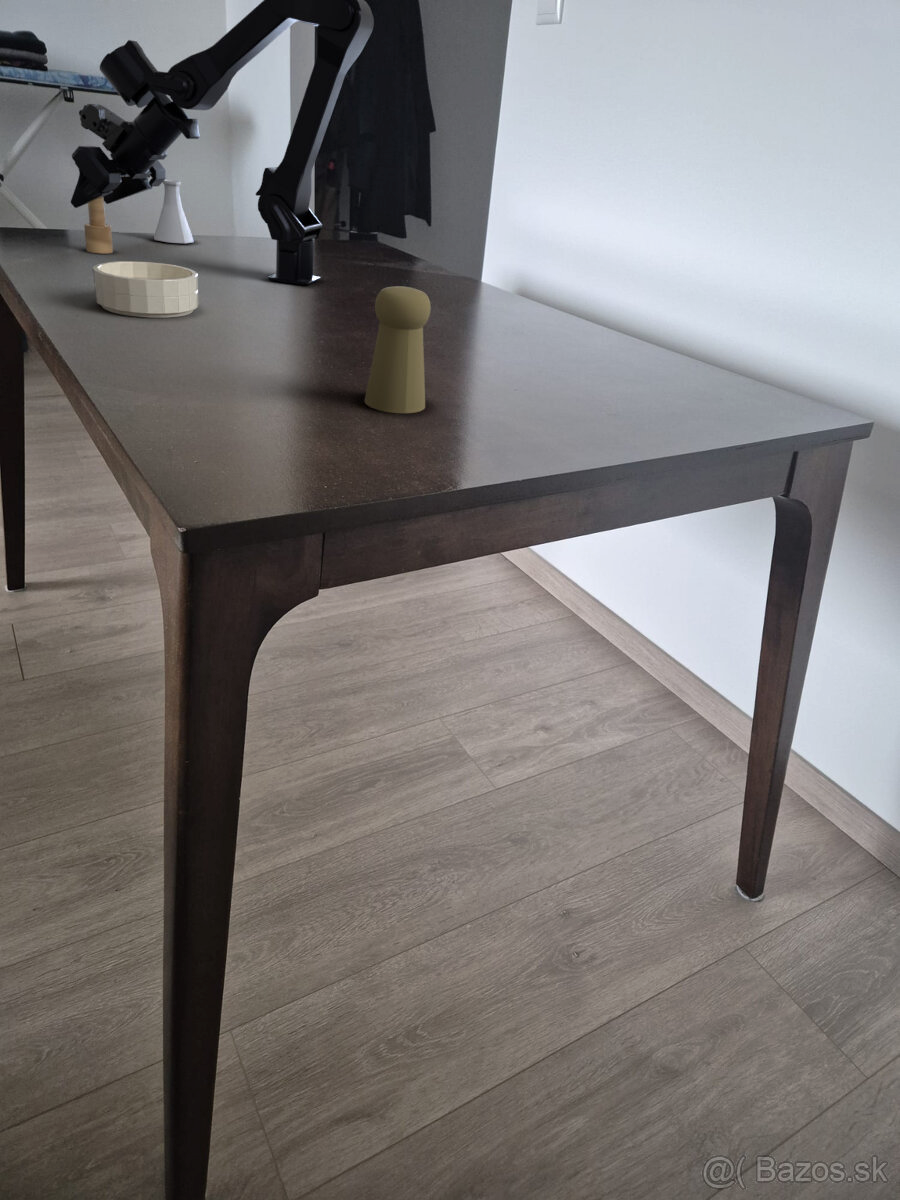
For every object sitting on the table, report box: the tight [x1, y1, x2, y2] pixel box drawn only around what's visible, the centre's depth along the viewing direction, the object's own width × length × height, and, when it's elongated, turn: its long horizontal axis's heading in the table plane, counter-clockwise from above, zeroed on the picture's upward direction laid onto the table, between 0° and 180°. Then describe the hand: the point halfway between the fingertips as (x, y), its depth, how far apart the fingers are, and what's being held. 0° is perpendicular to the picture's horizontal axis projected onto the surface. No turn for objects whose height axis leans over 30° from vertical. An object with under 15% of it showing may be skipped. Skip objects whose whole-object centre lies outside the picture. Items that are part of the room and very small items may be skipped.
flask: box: [153, 179, 195, 244], centre depth 155 cm, size 7×7×10 cm
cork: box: [364, 285, 432, 414], centre depth 83 cm, size 6×6×11 cm
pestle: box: [83, 197, 114, 255], centre depth 137 cm, size 4×4×14 cm
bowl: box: [92, 260, 200, 319], centre depth 109 cm, size 12×12×4 cm
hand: (89, 203), depth 137 cm, fingers open, 9 cm apart
